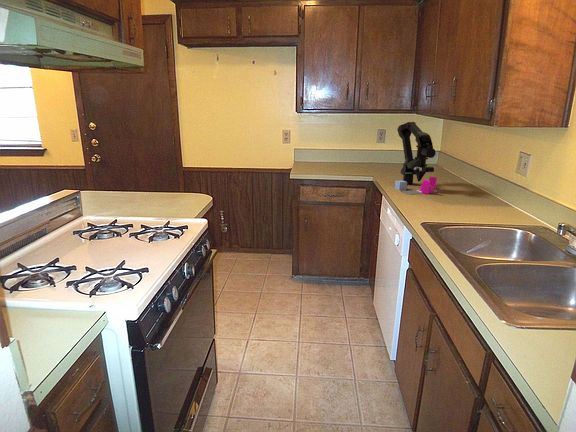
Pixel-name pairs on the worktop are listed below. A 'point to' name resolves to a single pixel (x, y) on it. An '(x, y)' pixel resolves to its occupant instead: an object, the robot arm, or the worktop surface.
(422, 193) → the letter mat
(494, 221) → the worktop surface
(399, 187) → the slate blue cube
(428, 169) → the robot arm
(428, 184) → the toy block
